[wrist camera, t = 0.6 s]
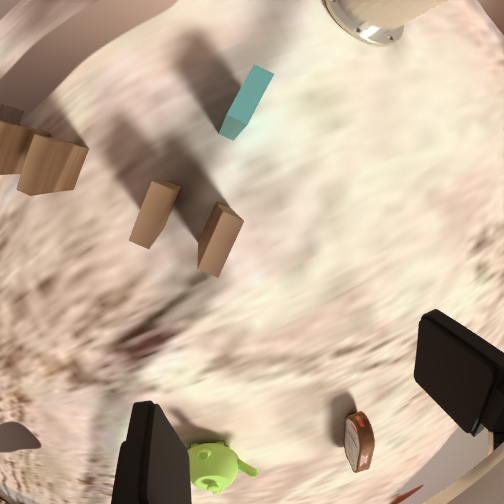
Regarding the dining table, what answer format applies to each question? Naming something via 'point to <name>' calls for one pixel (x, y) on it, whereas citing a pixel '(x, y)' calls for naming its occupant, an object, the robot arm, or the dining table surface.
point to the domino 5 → (245, 102)
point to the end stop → (10, 114)
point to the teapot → (215, 466)
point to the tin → (359, 441)
